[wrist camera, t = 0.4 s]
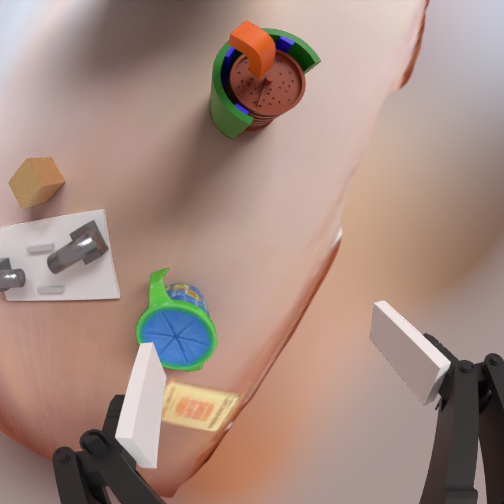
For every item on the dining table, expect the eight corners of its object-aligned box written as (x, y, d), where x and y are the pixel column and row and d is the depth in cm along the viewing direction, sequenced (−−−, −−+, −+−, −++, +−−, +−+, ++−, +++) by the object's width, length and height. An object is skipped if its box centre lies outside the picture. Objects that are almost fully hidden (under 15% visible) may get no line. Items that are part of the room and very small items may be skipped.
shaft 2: (99, 216, 35) (83, 224, 30) (114, 246, 37) (101, 258, 32) (58, 242, 35) (40, 253, 30) (72, 269, 37) (57, 283, 32)
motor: (253, 150, 37) (295, 137, 18) (196, 121, 34) (182, 79, 16) (287, 93, 35) (351, 42, 16) (233, 64, 32) (254, -13, 13)
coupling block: (33, 178, 32) (8, 182, 26) (51, 157, 32) (26, 158, 25) (46, 201, 34) (22, 209, 27) (65, 181, 34) (41, 186, 27)
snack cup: (136, 263, 39) (117, 293, 30) (203, 250, 40) (201, 278, 31) (164, 346, 44) (157, 386, 35) (223, 337, 45) (227, 377, 36)
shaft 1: (1, 283, 35) (-14, 296, 30) (-6, 259, 33) (-23, 269, 28) (36, 282, 36) (20, 296, 31) (29, 255, 35) (11, 266, 30)
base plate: (-9, 229, 33) (-15, 232, 31) (104, 208, 36) (99, 211, 34) (9, 298, 37) (4, 302, 35) (120, 295, 40) (117, 301, 38)
